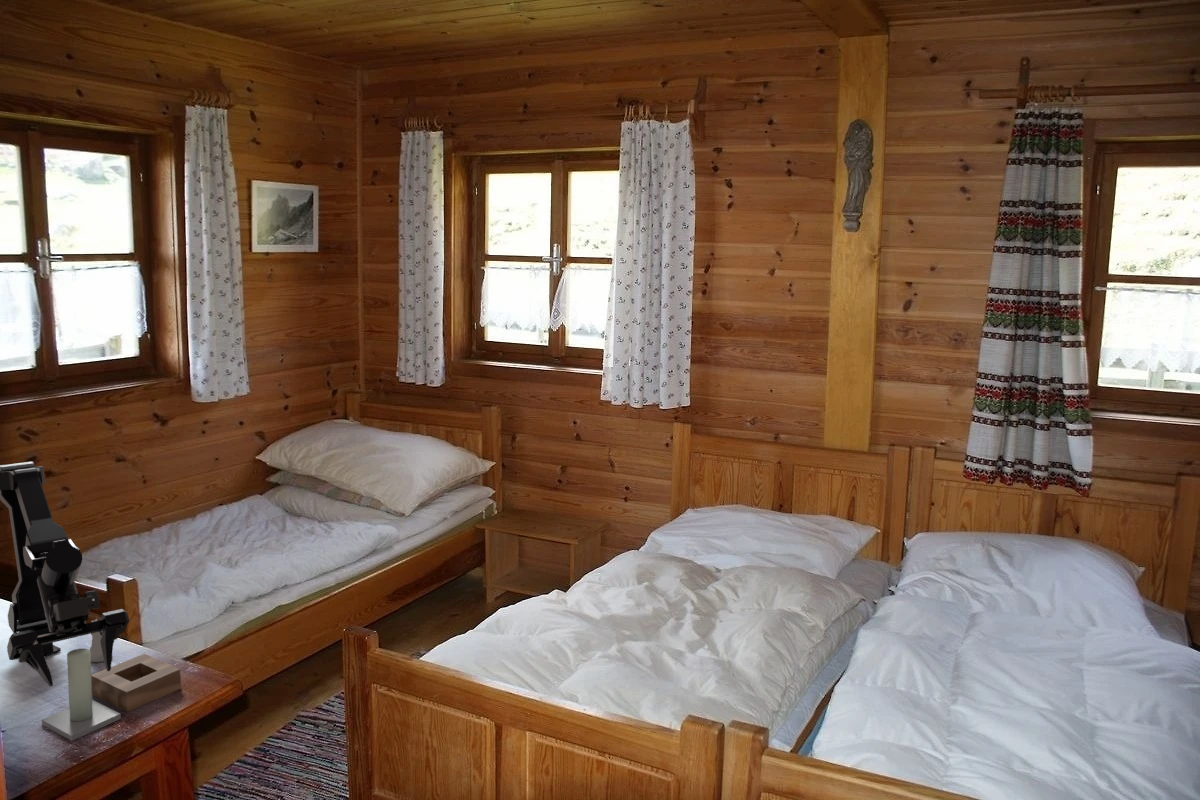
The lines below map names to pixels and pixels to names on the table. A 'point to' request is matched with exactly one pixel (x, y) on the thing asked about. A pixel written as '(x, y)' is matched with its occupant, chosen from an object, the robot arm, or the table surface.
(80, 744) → the table surface
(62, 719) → the slate tile
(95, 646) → the rook chess piece
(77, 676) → the sage peg
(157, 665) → the walnut pocket block
